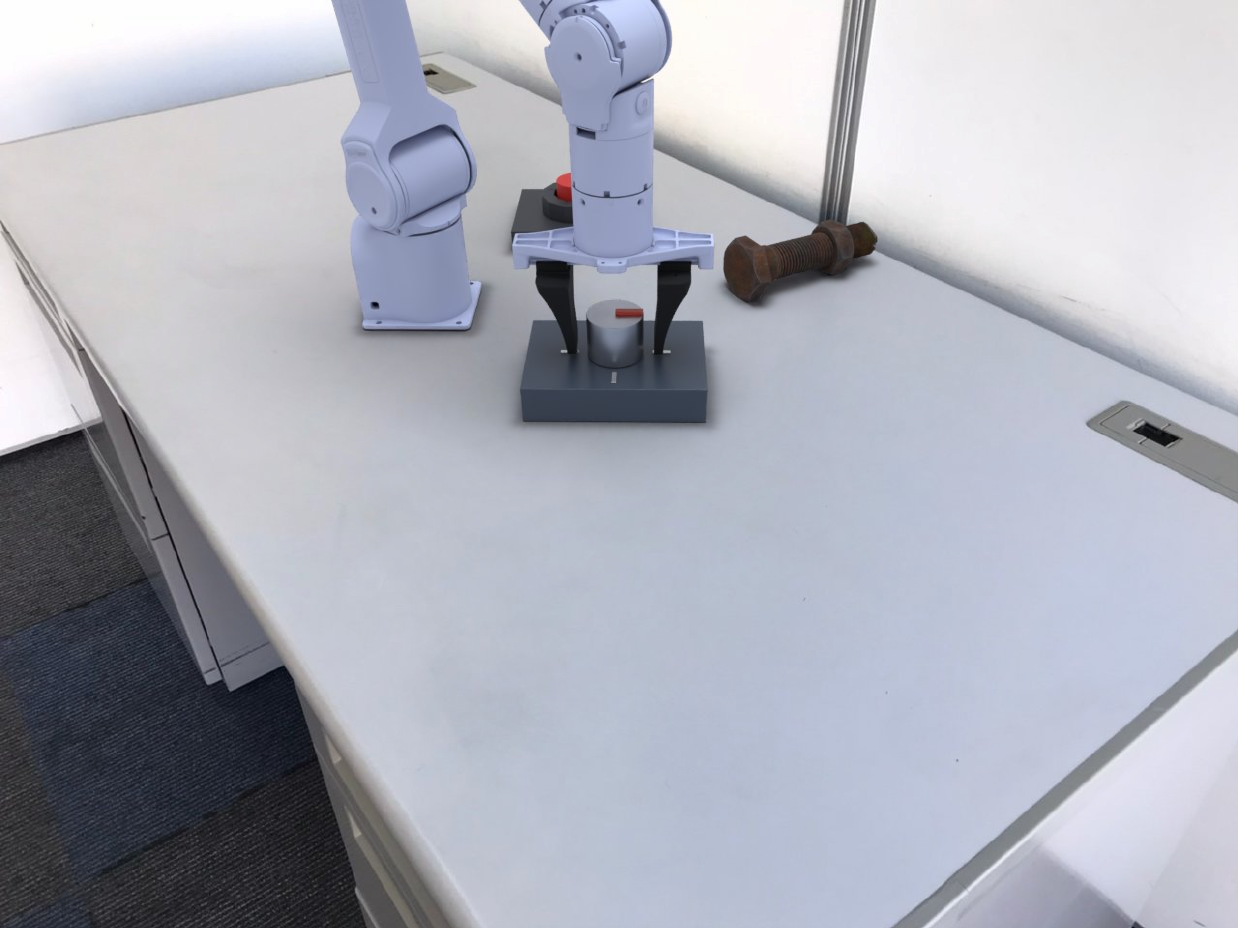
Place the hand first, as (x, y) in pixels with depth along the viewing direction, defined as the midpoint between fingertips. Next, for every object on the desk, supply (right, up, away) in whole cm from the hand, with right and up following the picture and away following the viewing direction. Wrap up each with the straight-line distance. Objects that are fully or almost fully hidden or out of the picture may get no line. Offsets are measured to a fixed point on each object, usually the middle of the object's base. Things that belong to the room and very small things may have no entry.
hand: (615, 347), depth 78 cm
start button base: (-4, +15, +24) cm, 29 cm away
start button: (-4, +18, +22) cm, 28 cm away
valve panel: (0, -3, +2) cm, 3 cm away
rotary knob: (0, 0, 0) cm, 0 cm away
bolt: (+18, +8, +16) cm, 25 cm away
